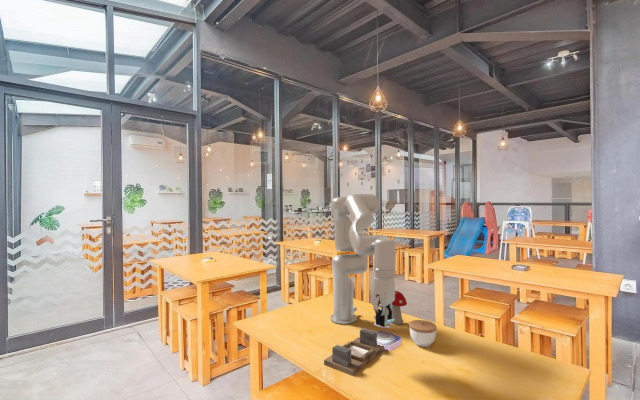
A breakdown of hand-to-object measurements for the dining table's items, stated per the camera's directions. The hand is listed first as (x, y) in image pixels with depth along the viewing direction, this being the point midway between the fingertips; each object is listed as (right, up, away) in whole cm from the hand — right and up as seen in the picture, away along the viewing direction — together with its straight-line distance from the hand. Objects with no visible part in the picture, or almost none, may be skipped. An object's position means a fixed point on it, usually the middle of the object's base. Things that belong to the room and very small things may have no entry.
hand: (383, 322), depth 120 cm
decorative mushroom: (+13, -14, +38) cm, 43 cm away
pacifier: (0, -1, -1) cm, 1 cm away
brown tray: (-10, -15, +5) cm, 18 cm away
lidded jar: (+19, -15, +16) cm, 29 cm away
